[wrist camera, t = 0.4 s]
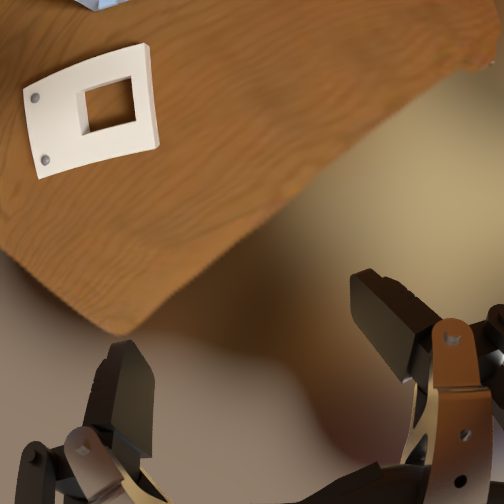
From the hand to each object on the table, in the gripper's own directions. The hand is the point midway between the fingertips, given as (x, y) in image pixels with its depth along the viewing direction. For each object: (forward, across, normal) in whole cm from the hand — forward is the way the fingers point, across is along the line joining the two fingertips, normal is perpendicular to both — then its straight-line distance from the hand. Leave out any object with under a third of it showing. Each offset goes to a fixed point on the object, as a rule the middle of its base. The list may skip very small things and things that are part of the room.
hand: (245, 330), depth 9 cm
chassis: (+24, +11, -14) cm, 30 cm away
